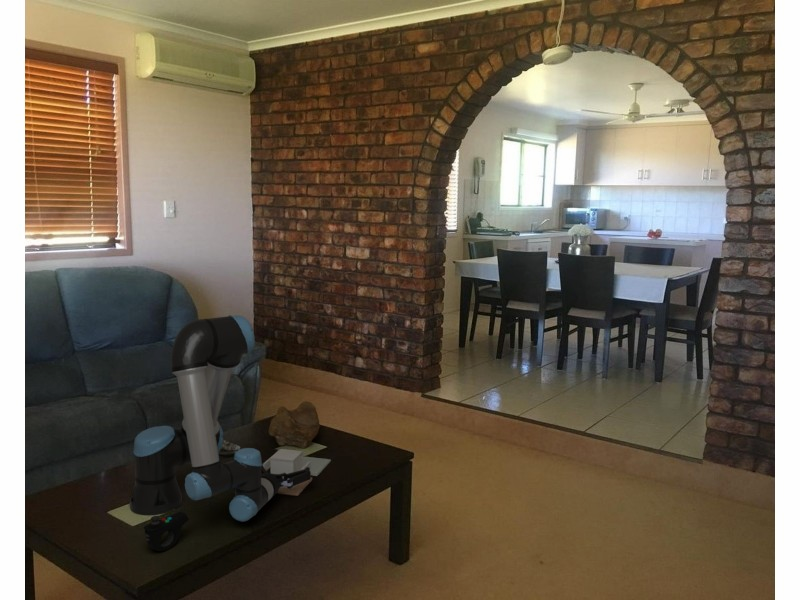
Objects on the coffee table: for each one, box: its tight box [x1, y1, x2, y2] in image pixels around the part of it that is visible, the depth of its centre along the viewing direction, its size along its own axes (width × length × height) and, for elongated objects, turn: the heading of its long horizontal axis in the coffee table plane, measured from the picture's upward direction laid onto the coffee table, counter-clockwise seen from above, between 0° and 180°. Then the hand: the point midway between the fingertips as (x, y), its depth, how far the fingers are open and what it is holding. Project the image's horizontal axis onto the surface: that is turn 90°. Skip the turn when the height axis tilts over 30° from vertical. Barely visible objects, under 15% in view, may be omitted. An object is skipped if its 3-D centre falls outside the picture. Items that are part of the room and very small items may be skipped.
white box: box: [269, 448, 304, 489], centre depth 216 cm, size 8×8×10 cm
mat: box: [303, 456, 332, 477], centre depth 233 cm, size 14×14×1 cm
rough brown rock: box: [268, 400, 321, 449], centre depth 255 cm, size 23×17×15 cm
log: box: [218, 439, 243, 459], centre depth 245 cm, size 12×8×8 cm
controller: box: [143, 511, 189, 552], centre depth 175 cm, size 4×12×10 cm, turn 146°
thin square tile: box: [276, 476, 313, 497], centre depth 217 cm, size 13×13×1 cm
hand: (290, 463), depth 219 cm, fingers open, 13 cm apart
